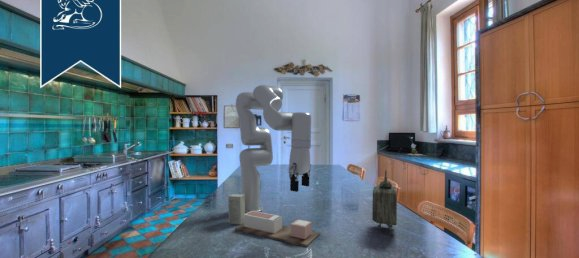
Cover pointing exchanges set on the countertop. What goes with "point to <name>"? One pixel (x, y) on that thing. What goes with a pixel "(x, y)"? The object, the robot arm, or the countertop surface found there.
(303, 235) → the stub
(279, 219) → the white box with vents
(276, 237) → the board
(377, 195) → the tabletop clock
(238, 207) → the skincare box
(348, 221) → the countertop surface
